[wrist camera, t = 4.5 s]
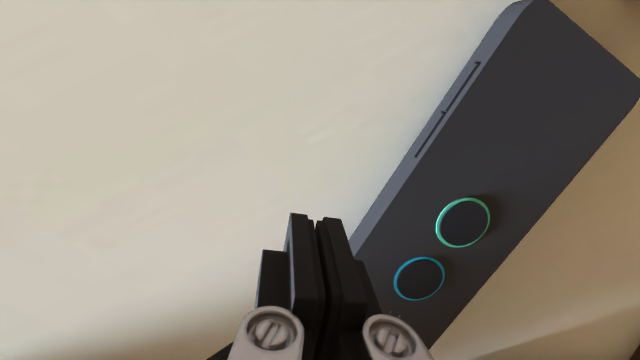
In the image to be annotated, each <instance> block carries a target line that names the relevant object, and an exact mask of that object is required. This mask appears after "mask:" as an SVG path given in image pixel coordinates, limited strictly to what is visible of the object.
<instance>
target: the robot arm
mask: <svg viewBox="0 0 640 360" xmlns="http://www.w3.org/2000/svg"><path fill="white" fill-rule="evenodd" d="M207 360H434V358H433V357H432V355H431V354H430V352H429V350H428V349H427V347H426V346H425V344H424V343H423V341H422V339H421V338H420V336H419V335H418V334H417V332H416V331H415V330H414V329H413V328H412V327H411V326H410V325H409V324H407V323H406V322H404V321H403V320H401V319H399V318H397V317H394V316H390V315H383V313H382V310H381V308H380V305H379V302H378V300H377V297H376V294H375V292H374V289H373V286H372V284H371V281H370V278H369V275H368V273H367V270H366V267H365V265H364V262H363V261H362V260H360V259H354V257H353V254H352V251H351V248H350V245H349V242H348V239H347V236H346V233H345V230H344V227H343V224H342V221H341V219H337V218H329V217H324V218H323V220H322V221H317V223H316V227H315V228H314V222H313V220H310V219H308V216H307V215H304V214H296V213H290V217H289V223H288V228H287V234H286V240H285V245H284V251H273V250H263V251H262V258H261V264H260V271H259V278H258V285H257V293H256V302H255V309H254V310H252V311H250V312H249V313H248V314H247V315H246V316H245V317H244V318H243V320H242V322H241V323H240V326H239V329H238V331H237V334H236V337H235V340H234V342H232V343H231V344H229V345H228V346H226V347H225V348H223V349H222V350H220V351H219V352H217V353H216V354H214V355H213V356H211V357H210V358H208V359H207Z"/></svg>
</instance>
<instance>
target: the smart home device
mask: <svg viewBox="0 0 640 360" xmlns="http://www.w3.org/2000/svg"><path fill="white" fill-rule="evenodd" d="M639 98H640V79H639V78H638V77H637V76H636V75H635V74H634V73H632V72H631V71H630V70H629V69H628V68H627V67H626V66H624V65H623V64H622V63H621V62H620V61H619V60H617V59H616V58H615V57H614V56H613V55H612V54H610V53H609V52H608V51H607V50H606V49H605V48H604V47H602V46H601V45H600V44H599V43H598V42H597V41H595V40H594V39H593V38H592V37H591V36H590V35H589V34H587V33H586V32H585V31H584V30H583V29H582V28H580V27H579V26H578V25H577V24H576V23H575V22H573V21H572V20H571V19H570V18H569V17H568V16H567V15H565V14H564V13H563V12H562V11H561V10H560V9H558V8H557V7H556V6H555V5H554V4H553V3H551V2H550V1H548V0H523V1H518V2H515V3H513V4H511V5H510V6H508V7H507V8H506V9H505V10H504V11H503V12H502V13H501V14H500V16H499V17H498V18H497V20H496V21H495V22H494V24H493V25H492V27H491V28H490V30H489V31H488V33H487V34H486V36H485V37H484V39H483V40H482V42H481V43H480V45H479V46H478V48H477V49H476V51H475V52H474V54H473V55H472V57H471V58H470V60H469V61H468V63H467V64H466V66H465V67H464V69H463V70H462V72H461V73H460V75H459V76H458V78H457V79H456V81H455V82H454V84H453V85H452V87H451V88H450V90H449V91H448V93H447V94H446V96H445V97H444V99H443V100H442V102H441V103H440V105H439V106H438V108H437V109H436V111H435V112H434V114H433V115H432V117H431V118H430V120H429V121H428V123H427V124H426V126H425V127H424V129H423V130H422V132H421V133H420V135H419V136H418V138H417V139H416V141H415V142H414V144H413V145H412V147H411V148H410V150H409V151H408V153H407V154H406V156H405V157H404V159H403V160H402V162H401V163H400V165H399V166H398V168H397V169H396V171H395V172H394V174H393V175H392V177H391V178H390V180H389V181H388V183H387V184H386V186H385V187H384V189H383V190H382V192H381V193H380V195H379V196H378V198H377V199H376V201H375V202H374V204H373V205H372V207H371V208H370V210H369V211H368V213H367V214H366V216H365V217H364V219H363V220H362V222H361V223H360V225H359V226H358V228H357V229H356V231H355V232H354V234H353V235H352V237H351V238H350V240H349V241H348V242H349V245H350V248H351V251H352V254H353V257H354V259H360V260H362V261H363V262H364V265H365V267H366V270H367V273H368V275H369V278H370V281H371V284H372V286H373V289H374V292H375V294H376V297H377V300H378V302H379V305H380V308H381V310H382V313H383V315H390V316H394V317H397V318H399V319H401V320H403V321H404V322H406V323H407V324H409V325H410V326H411V327H412V328H413V329H414V330H415V331H416V332H417V334H418V335H419V336H420V338H421V339H422V341H423V343H424V344H425V346H426V347H427V349H428V350H429V349H430V348H431V347H432V346H433V344H434V343H435V342H436V341H437V340H438V338H439V337H440V336H441V335H442V334H443V333H444V331H445V330H446V329H447V328H448V327H449V325H450V324H451V323H452V322H453V321H454V319H455V318H456V317H457V316H458V315H459V314H460V312H461V311H462V310H463V309H464V308H465V306H466V305H467V304H468V303H469V302H470V301H471V299H472V298H473V297H474V296H475V295H476V293H477V292H478V291H479V290H480V289H481V287H482V286H483V285H484V284H485V283H486V282H487V280H488V279H489V278H490V277H491V276H492V274H493V273H494V272H495V271H496V270H497V268H498V267H499V266H500V265H501V264H502V263H503V261H504V260H505V259H506V258H507V257H508V255H509V254H510V253H511V252H512V251H513V250H514V248H515V247H516V246H517V245H518V244H519V242H520V241H521V240H522V239H523V238H524V236H525V235H526V234H527V233H528V232H529V231H530V229H531V228H532V227H533V226H534V225H535V223H536V222H537V221H538V220H539V219H540V217H541V216H542V215H543V214H544V213H545V212H546V210H547V209H548V208H549V207H550V206H551V204H552V203H553V202H554V201H555V200H556V198H557V197H558V196H559V195H560V194H561V193H562V191H563V190H564V189H565V188H566V187H567V185H568V184H569V183H570V182H571V181H572V180H573V178H574V177H575V176H576V175H577V174H578V172H579V171H580V170H581V169H582V168H583V166H584V165H585V164H586V163H587V162H588V161H589V159H590V158H591V157H592V156H593V155H594V153H595V152H596V151H597V150H598V149H599V147H600V146H601V145H602V144H603V143H604V142H605V140H606V139H607V138H608V137H609V136H610V134H611V133H612V132H613V131H614V130H615V128H616V127H617V126H618V125H619V124H620V123H621V121H622V120H623V119H624V118H625V117H626V115H627V114H628V113H629V112H630V111H631V109H632V108H633V107H634V106H635V104H636V103H637V101H638V100H639Z"/></svg>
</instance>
